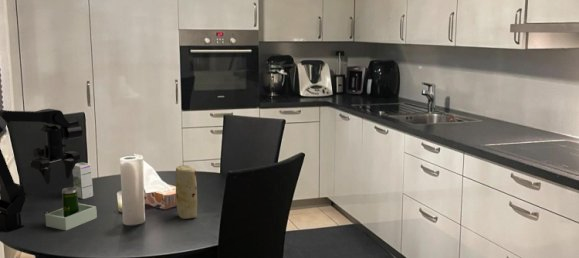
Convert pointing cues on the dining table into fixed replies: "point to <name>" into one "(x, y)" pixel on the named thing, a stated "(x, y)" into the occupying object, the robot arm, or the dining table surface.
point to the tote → (71, 217)
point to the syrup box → (83, 180)
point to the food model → (186, 192)
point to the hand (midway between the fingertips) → (58, 181)
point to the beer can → (70, 201)
